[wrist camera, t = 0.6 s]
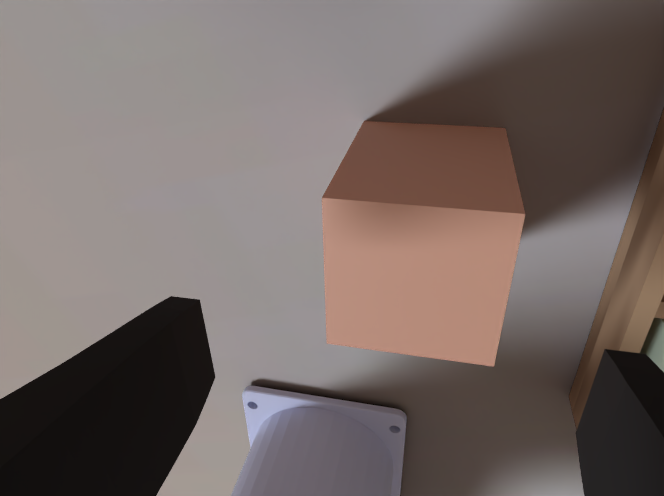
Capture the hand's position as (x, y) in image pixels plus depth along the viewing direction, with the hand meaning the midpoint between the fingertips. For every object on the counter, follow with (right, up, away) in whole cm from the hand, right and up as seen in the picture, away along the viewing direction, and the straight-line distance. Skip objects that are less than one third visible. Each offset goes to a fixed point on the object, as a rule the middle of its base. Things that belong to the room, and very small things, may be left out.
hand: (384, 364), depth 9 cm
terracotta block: (+2, +4, +8) cm, 9 cm away
